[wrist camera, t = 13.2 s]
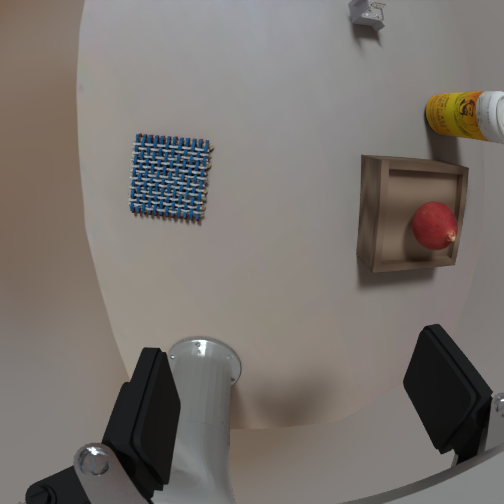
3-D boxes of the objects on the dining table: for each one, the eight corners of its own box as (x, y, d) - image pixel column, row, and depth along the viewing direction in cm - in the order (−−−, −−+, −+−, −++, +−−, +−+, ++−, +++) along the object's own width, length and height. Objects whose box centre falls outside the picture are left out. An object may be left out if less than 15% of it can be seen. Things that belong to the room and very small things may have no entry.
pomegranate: (426, 186, 33) (464, 201, 25) (442, 220, 34) (477, 241, 27) (394, 212, 34) (428, 234, 27) (412, 246, 36) (444, 272, 28)
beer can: (422, 90, 32) (494, 84, 18) (453, 99, 32) (524, 100, 19) (422, 131, 35) (494, 139, 21) (452, 137, 35) (524, 150, 21)
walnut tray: (433, 248, 42) (454, 265, 36) (356, 253, 41) (372, 272, 36) (443, 161, 36) (468, 167, 31) (361, 154, 36) (381, 159, 30)
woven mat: (130, 210, 38) (125, 214, 37) (136, 133, 35) (131, 133, 33) (204, 220, 39) (202, 225, 38) (215, 140, 36) (213, 140, 34)
